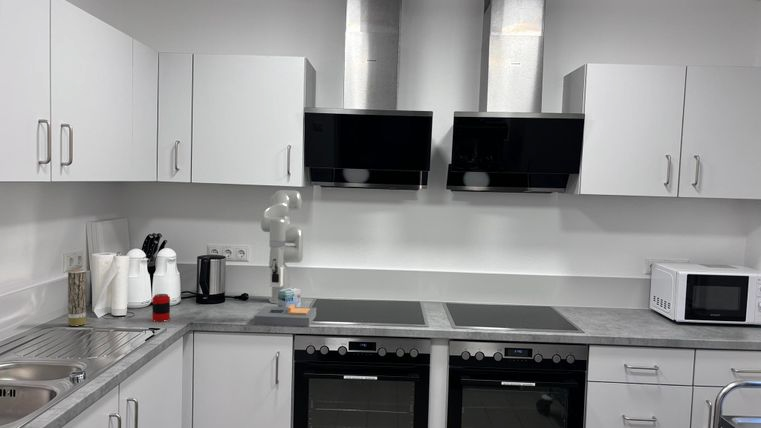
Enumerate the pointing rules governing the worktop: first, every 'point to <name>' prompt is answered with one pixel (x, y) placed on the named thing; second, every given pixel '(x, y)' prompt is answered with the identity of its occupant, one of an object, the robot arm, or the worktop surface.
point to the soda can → (161, 307)
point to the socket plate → (283, 317)
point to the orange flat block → (297, 310)
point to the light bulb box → (289, 297)
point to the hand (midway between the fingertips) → (276, 280)
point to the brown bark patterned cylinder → (76, 297)
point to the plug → (280, 283)
